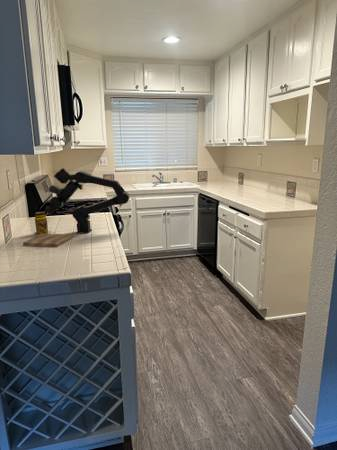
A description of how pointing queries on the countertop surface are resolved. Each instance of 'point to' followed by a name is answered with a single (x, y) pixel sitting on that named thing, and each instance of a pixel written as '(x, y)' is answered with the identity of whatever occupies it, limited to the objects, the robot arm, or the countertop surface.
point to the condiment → (41, 224)
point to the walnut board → (48, 240)
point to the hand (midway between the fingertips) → (50, 210)
